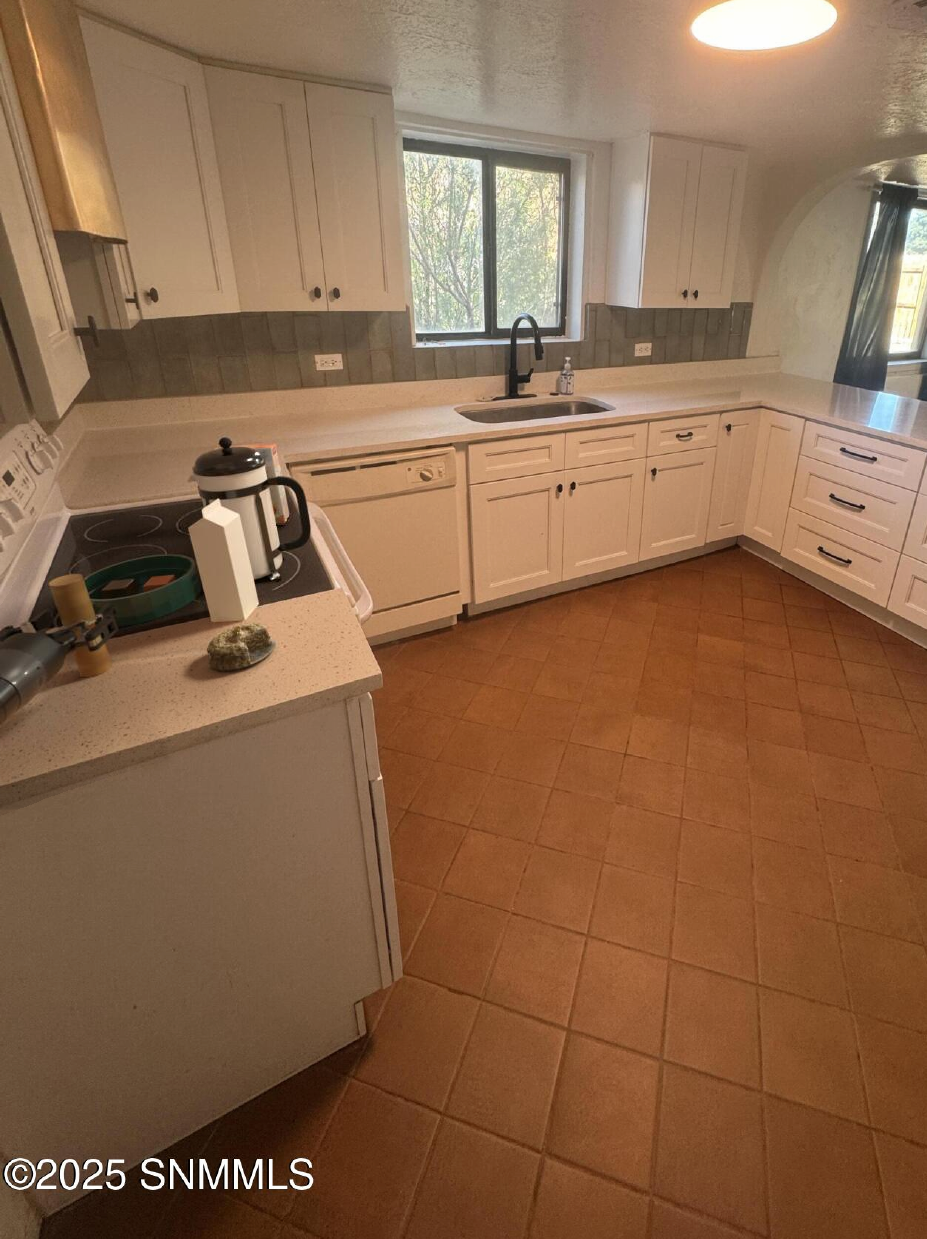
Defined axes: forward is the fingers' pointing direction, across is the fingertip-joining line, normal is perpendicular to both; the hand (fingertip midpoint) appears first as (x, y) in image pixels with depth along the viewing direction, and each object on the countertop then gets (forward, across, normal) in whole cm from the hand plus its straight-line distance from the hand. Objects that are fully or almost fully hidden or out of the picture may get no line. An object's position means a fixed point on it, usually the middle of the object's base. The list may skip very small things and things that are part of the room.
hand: (80, 612), depth 89 cm
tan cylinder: (-1, 0, +10) cm, 10 cm away
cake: (-2, -22, +10) cm, 24 cm away
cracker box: (+60, -9, +10) cm, 62 cm away
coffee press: (+29, -17, +10) cm, 35 cm away
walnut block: (+21, +6, +9) cm, 24 cm away
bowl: (+21, +2, +10) cm, 23 cm away
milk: (+12, -17, +10) cm, 23 cm away
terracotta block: (+21, -2, +9) cm, 23 cm away
